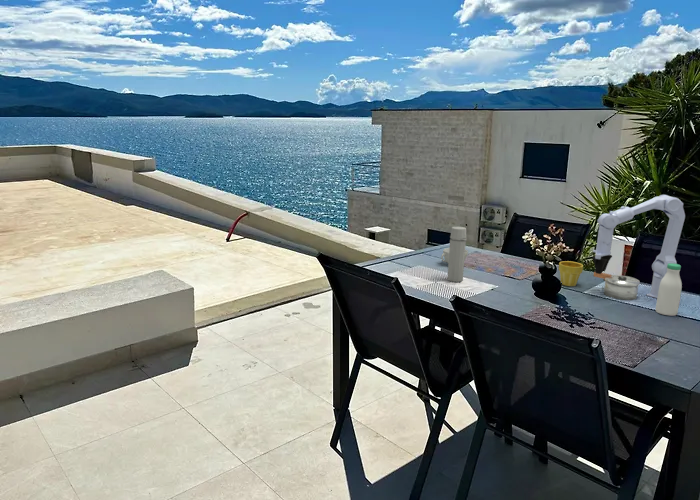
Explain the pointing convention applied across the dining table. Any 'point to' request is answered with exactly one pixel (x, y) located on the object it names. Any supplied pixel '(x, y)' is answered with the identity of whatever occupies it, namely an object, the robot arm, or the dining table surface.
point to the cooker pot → (620, 291)
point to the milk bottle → (669, 291)
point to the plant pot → (570, 272)
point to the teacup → (446, 255)
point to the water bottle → (456, 254)
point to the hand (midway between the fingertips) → (600, 272)
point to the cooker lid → (618, 279)
